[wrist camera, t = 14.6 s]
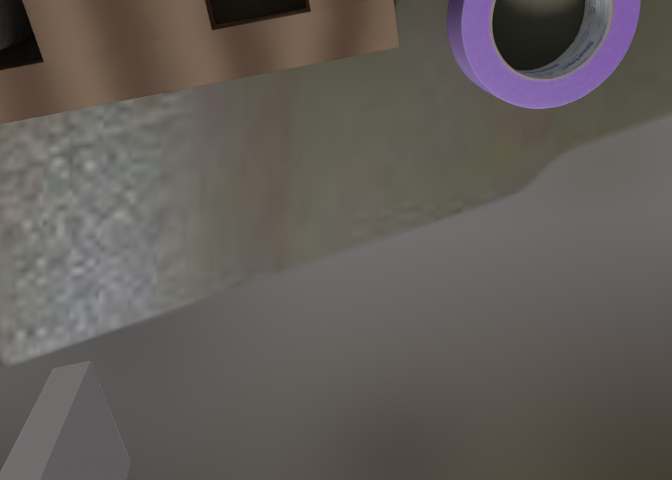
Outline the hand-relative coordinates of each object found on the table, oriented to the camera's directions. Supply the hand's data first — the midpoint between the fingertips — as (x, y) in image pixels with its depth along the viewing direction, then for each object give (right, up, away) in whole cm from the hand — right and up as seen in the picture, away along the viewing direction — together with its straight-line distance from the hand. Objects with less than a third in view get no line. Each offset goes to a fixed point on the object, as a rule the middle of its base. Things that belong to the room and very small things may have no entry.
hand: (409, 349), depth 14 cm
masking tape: (+12, +18, +30) cm, 37 cm away
